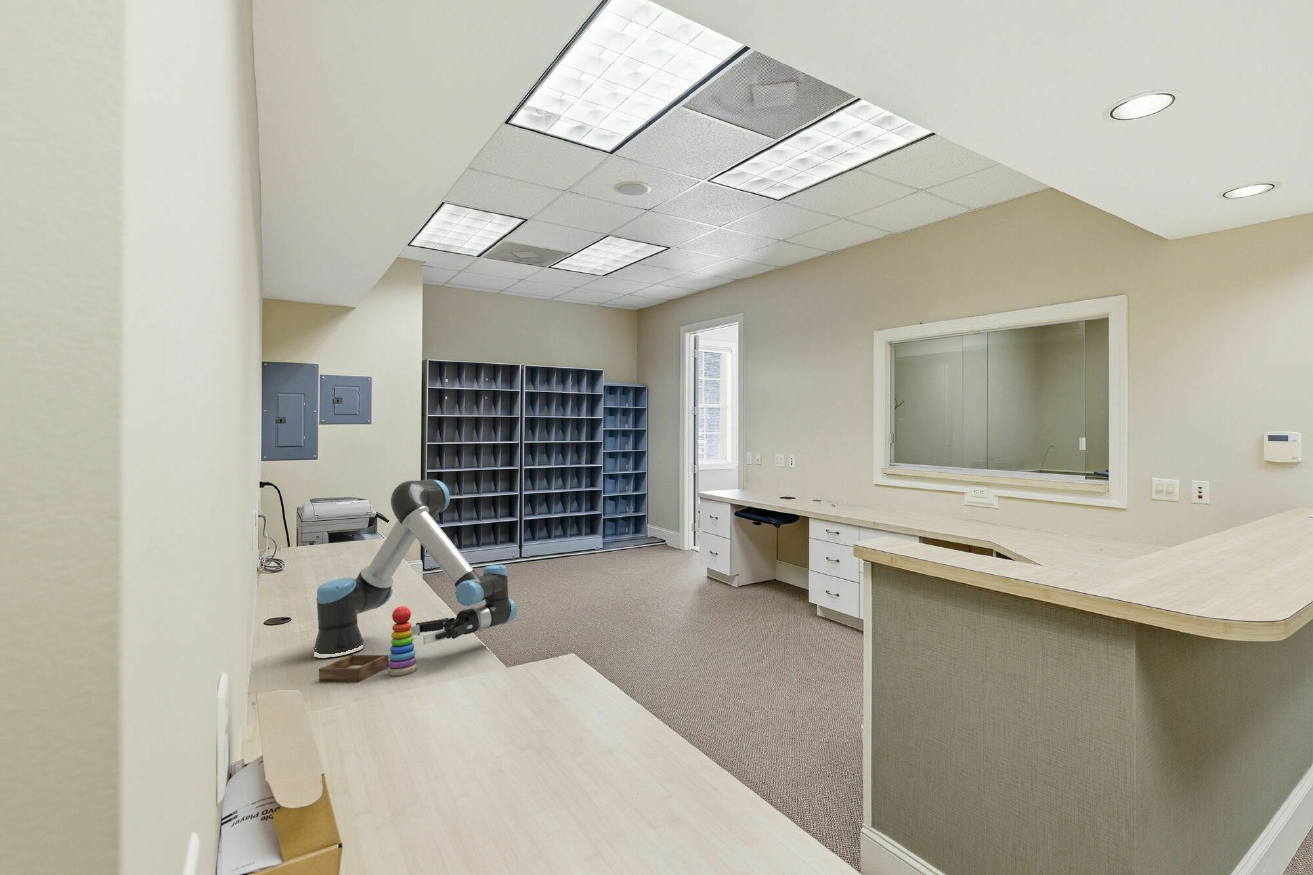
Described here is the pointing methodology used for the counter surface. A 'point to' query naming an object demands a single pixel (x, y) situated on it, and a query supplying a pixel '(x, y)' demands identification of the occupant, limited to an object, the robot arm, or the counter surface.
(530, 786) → the counter surface
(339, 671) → the tray
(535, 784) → the counter surface
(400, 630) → the stacking toy
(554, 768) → the counter surface
